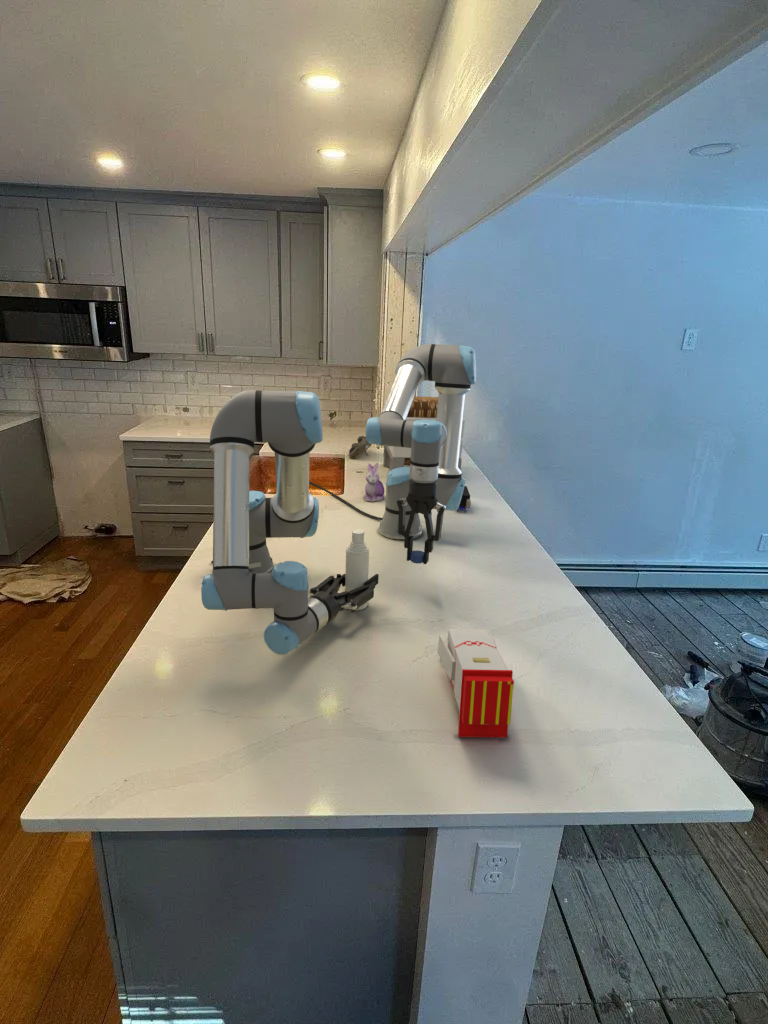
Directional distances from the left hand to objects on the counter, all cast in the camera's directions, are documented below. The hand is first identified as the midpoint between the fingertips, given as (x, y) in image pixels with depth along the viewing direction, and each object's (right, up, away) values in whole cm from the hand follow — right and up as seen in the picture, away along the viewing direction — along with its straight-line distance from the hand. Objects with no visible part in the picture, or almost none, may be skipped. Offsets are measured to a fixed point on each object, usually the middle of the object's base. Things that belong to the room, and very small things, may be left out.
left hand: (366, 575), depth 153 cm
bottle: (-3, -8, -2) cm, 8 cm away
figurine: (+1, +23, +82) cm, 85 cm away
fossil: (-8, +48, +151) cm, 158 cm away
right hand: (+14, +4, +4) cm, 15 cm away
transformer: (+22, +36, +122) cm, 129 cm away
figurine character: (+36, +19, +76) cm, 86 cm away
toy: (+23, -20, -35) cm, 46 cm away
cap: (+14, +5, +3) cm, 16 cm away
